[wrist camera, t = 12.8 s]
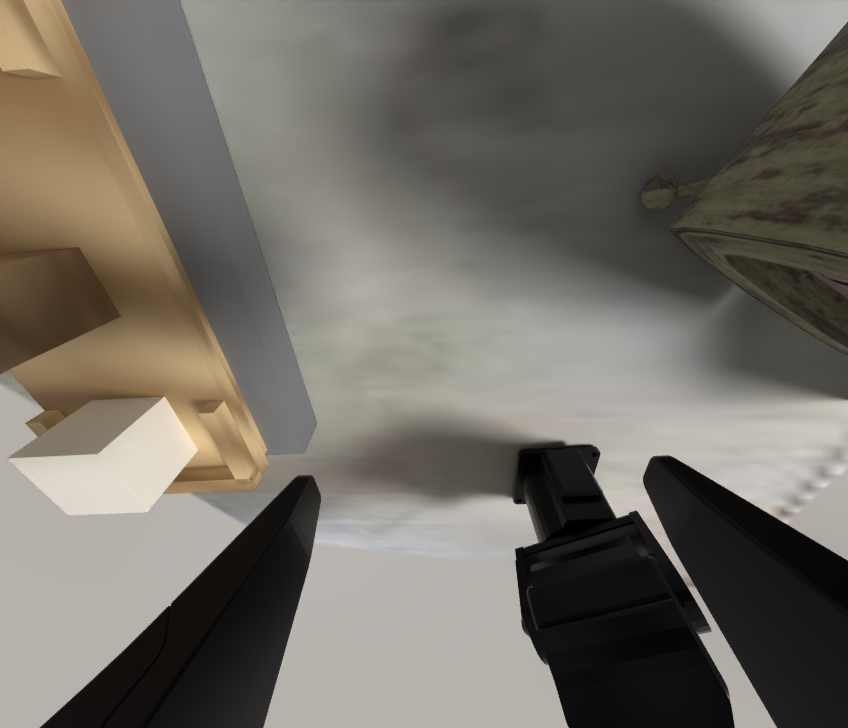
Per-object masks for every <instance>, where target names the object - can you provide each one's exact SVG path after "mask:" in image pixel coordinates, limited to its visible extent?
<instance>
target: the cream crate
mask: <svg viewBox="0 0 848 728" xmlns="http://www.w3.org/2000/svg"><path fill="white" fill-rule="evenodd" d="M197 451H198V450H197V448H196V446H195V445H194V443H193V441H192V440H191V438H190V437H189V435H188V433H187V432H186V430H185V428H184V427H183V425H182V423H181V422H180V420H179V419H178V417H177V415H176V414H175V412H174V410H173V409H172V407H171V406H170V404H169V402H168V401H167V399H166V397H165V396H161V397H143V398H125V399H107V400H92V401H90V402H89V403H87V404H86V405H84V406H83V407H81V408H80V409H79V410H77V411H76V412H74V413H73V414H71V415H70V416H68V417H67V418H65V419H64V420H62V421H61V422H60V423H58V424H57V425H55V426H54V427H52V428H51V429H49V430H48V431H46V432H45V433H43V434H42V435H41V436H39V437H38V438H36V439H35V440H33V441H32V442H30V443H29V444H27V445H26V446H24V447H23V448H22V449H20V450H19V451H17V452H16V453H14V454H13V455H11V456H10V457H8V458H7V459H8V460H9V461H10V462H12V464H13V465H14V466H15V467H17V468H18V469H19V470H20V471H21V472H22V473H23V474H24V475H25V476H27V478H28V479H29V480H31V481H32V482H33V483H34V484H35V485H36V486H37V487H38V488H39V489H40V490H41V491H42V492H44V494H46V495H47V496H48V497H49V498H50V499H51V500H52V501H53V502H54V503H55V504H56V505H57V506H59V508H61V509H62V510H63V511H64V512H65V513H66V514H67V515H68V516H70V515H71V516H72V515H96V514H119V513H144V512H148V511H149V510H150V508H151V507H152V506H153V505H154V503H155V502H156V501H157V500H158V499H159V497H160V496H161V495H162V494H163V493H164V491H165V490H166V489H167V488H168V486H169V485H170V484H171V483H172V481H173V480H174V479H175V478H176V477H177V475H178V474H179V473H180V472H181V470H182V469H183V468H184V467H185V466H186V464H187V463H188V462H189V461H190V459H191V458H192V457H193V456H194V455H195V453H196V452H197Z"/></svg>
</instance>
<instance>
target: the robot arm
mask: <svg viewBox="0 0 848 728" xmlns="http://www.w3.org/2000/svg"><path fill="white" fill-rule="evenodd" d="M523 456H524V457H523ZM599 457H600V452H599V450H598V448H597V447H575V448H555V449H534V450H522V451H520V452H519V453H518V455H517V463H516V472H515V480H514V489H513V501H514V503H515V504H527V506H528V510H529V513H530V516H531V519H532V523H533V526H534V529H535V532H536V536H537V539H538V542H539V543H537V544H534V545H531V546H528V547H524V548H523V547H520V548H516V549H515V552H516V561H515V562H516V571H517V579H518V589H519V597H520V606H521V614H522V620H521V622H522V628H523V630H524V632H525V633H526V634H527V635H528V636H529V637H530V638H531V640H532V643H533V645H534V647H535V649H536V651H537V654H538V655H539V657H540V659H541V660H542V661H543V662H544V663H545V664H546V665H549V667H550V670H551V673H552V676H553V679H554V681H555V685H556V688H557V691H558V695H559V698H560V702H561V705H562V709H563V712H564V716H565V719H566V722H567V725H568V727H569V728H735V726H734V720H733V714H732V707H731V703H730V696H729V691H728V688H727V685H726V683H725V681H724V680H723V678H722V676H721V674H720V672H719V671H718V669H717V667H716V666H715V664H714V662H713V660H712V658H711V657H710V655H709V653H708V651H707V650H706V648H705V646H704V645H703V643H702V641H701V639H700V637H699V636H698V634H702V633H707V632H711V628H710V626H709V624H708V623H707V620H706V619H705V617H704V615H703V613H702V611H701V609H700V608H699V606H698V604H697V603H696V601H695V599H694V598H693V596H692V594H691V592H690V591H689V589H688V587H687V586H686V584H685V583H684V581H683V579H682V578H681V576H680V575H679V573H678V571H677V570H676V568H675V567H674V565H673V564H672V562H671V561H670V559H669V558H668V556H667V555H666V553H665V552H664V550H663V549H662V547H661V546H660V544H659V543H658V541H657V540H656V539H655V537H654V536H653V534H652V533H651V531H650V530H649V528H648V527H647V525H646V524H645V522H644V521H643V519H642V518H641V516H640V515H639V513H638V512H637V511H633V512H630V513H629V515H626V516H623V517H619V518H616V516H615V514H614V512H613V510H612V509H611V507H610V505H609V503H608V502H607V500H606V498H605V496H604V494H603V491H602V489H601V488H600V486H599V484H598V482H597V481H596V479H595V477H594V473H595V470H596V467H597V463H598V460H599ZM643 483H644V486H645V489H646V491H647V493H648V495H649V497H650V500H651V502H652V504H653V506H654V508H655V511H656V513H657V515H658V517H659V519H660V521H661V524H662V526H663V528H664V530H665V532H666V534H667V537H668V539H669V541H670V543H671V545H672V547H673V548H674V550H675V552H676V554H677V556H678V557H679V559H680V561H681V563H682V564H683V566H684V568H685V569H686V571H687V573H688V575H689V576H690V578H691V580H692V582H693V583H694V585H695V587H696V588H697V590H698V592H699V594H700V595H701V597H702V599H703V600H704V602H705V604H706V606H707V607H708V609H709V611H710V613H711V614H712V616H713V618H714V619H715V621H716V623H717V624H718V626H719V628H720V630H721V631H722V633H723V635H724V637H725V638H726V640H727V642H728V644H729V645H730V647H731V648H732V650H733V652H734V654H735V656H736V658H737V659H738V661H739V662H740V664H741V666H742V668H743V670H744V671H745V673H746V675H747V677H748V678H749V680H750V682H751V683H752V685H753V687H754V688H755V690H756V692H757V694H758V696H759V697H760V699H761V701H762V702H763V704H764V706H765V708H766V709H767V711H768V713H769V714H770V716H771V718H772V720H773V721H774V723H775V725H776V726H777V728H848V561H847V560H846V559H844V558H842V557H841V556H839V555H837V554H836V553H834V552H832V551H831V550H829V549H827V548H826V547H824V546H822V545H821V544H819V543H817V542H815V541H814V540H812V539H810V538H809V537H807V536H805V535H804V534H802V533H800V532H798V531H797V530H795V529H794V528H792V527H790V526H789V525H787V524H785V523H783V522H782V521H780V520H778V519H777V518H775V517H773V516H772V515H770V514H768V513H767V512H765V511H763V510H762V509H760V508H758V507H756V506H755V505H753V504H751V503H750V502H748V501H746V500H745V499H743V498H741V497H740V496H738V495H736V494H735V493H733V492H731V491H730V490H728V489H726V488H724V487H723V486H721V485H719V484H718V483H716V482H714V481H713V480H711V479H709V478H708V477H706V476H704V475H703V474H701V473H699V472H697V471H696V470H694V469H692V468H691V467H689V466H687V465H686V464H684V463H682V462H681V461H679V460H677V459H676V458H674V457H672V456H653V457H652V458H651V459H650V461H649V463H648V466H647V468H646V471H645V474H644V476H643ZM320 503H321V495H320V492H319V489H318V487H317V484H316V481H315V479H314V477H313V476H312V475H301V476H297V477H296V478H294V479H293V480H292V481H291V482H290V483H289V484H288V485H287V486H286V487H285V488H284V489H283V490H282V491H281V492H280V493H279V495H278V496H277V497H276V498H275V499H274V500H273V501H272V502H271V503H270V504H269V505H268V506H267V507H266V508H265V509H264V510H263V511H262V512H261V513H260V514H259V515H258V516H257V517H256V518H255V519H254V520H253V521H252V522H251V523H250V524H249V525H248V526H247V527H246V528H245V529H244V530H243V531H242V532H241V533H240V534H239V535H238V536H237V537H236V538H235V539H234V540H233V541H232V542H231V544H229V545H228V546H227V547H226V548H225V549H224V550H223V551H222V552H221V553H220V554H219V555H218V556H217V557H216V558H215V559H214V560H213V561H212V562H211V563H210V565H208V566H207V568H205V569H204V571H203V572H202V573H201V574H200V575H199V576H198V577H197V578H196V579H195V580H194V581H193V582H192V583H191V584H190V585H189V586H188V587H187V588H186V589H185V590H184V591H183V592H182V593H181V594H180V595H179V596H178V597H177V598H176V599H175V600H174V601H173V602H172V603H171V606H168V607H167V608H166V609H165V610H164V611H163V612H162V613H161V614H160V615H159V616H158V617H157V618H156V619H155V620H154V621H153V622H152V623H151V624H150V625H149V626H148V627H147V628H146V629H145V630H144V631H143V632H142V633H141V634H140V635H139V636H138V637H137V638H136V639H135V640H134V641H133V642H132V643H131V644H130V645H129V646H128V647H127V648H126V649H125V650H124V651H123V652H122V653H121V654H119V655H118V656H117V657H116V658H115V659H114V660H113V661H112V662H111V663H110V664H109V665H108V666H107V667H105V669H103V670H102V671H101V672H100V673H99V674H98V675H97V676H96V677H95V678H94V679H93V680H92V681H90V682H89V683H88V684H87V685H86V686H85V687H84V688H83V689H82V690H81V691H80V692H79V693H77V694H76V695H75V696H74V697H73V698H72V699H71V700H70V701H69V702H67V703H66V704H65V705H64V706H63V707H62V708H61V709H60V710H59V711H58V712H57V713H55V714H54V715H53V716H52V717H51V718H50V719H49V720H48V721H47V722H46V723H44V724H43V725H42V726H41V727H40V728H263V726H264V723H265V720H266V716H267V713H268V709H269V705H270V702H271V698H272V695H273V691H274V688H275V684H276V681H277V677H278V674H279V670H280V667H281V663H282V659H283V656H284V652H285V649H286V645H287V642H288V638H289V635H290V631H291V628H292V624H293V621H294V617H295V613H296V610H297V606H298V603H299V599H300V596H301V592H302V589H303V585H304V582H305V578H306V574H307V571H308V567H309V563H310V559H311V554H312V549H313V543H314V538H315V532H316V526H317V521H318V515H319V509H320Z"/></svg>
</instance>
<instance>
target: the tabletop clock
mask: <svg viewBox="0 0 848 728" xmlns="http://www.w3.org/2000/svg"><path fill="white" fill-rule="evenodd" d="M679 196H697V198H696V199H695V200H694V201H693V202H692V203H691V204H690V206H689V207H688V208H687V209H686V210H685V211H684V213H683V214H682V215H681V216H680V217H679V218H678V220H677V221H676V222H675V223H674V224H673V225H672V227H671V228H670V229H669V230H670V231H671V233H672V234H673V235H674V236H675V237H676V238H677V239H678V240H679V241H680V242H681V243H682V244H684V245H685V246H686V247H687V248H688V249H689V250H691V251H692V252H693V253H694V254H696V255H697V256H698V257H700V258H701V259H702V260H704V261H705V262H706V263H708V264H709V265H710V266H712V267H713V268H714V269H716V270H717V271H718V272H720V273H721V274H723V275H724V276H725V277H727V278H728V279H729V280H731V281H732V282H733V283H735V284H736V285H737V286H739V287H740V288H741V289H743V290H744V291H746V292H747V293H749V294H750V295H752V296H753V297H755V298H756V299H758V300H759V301H761V302H762V303H764V304H765V305H766V306H768V307H769V308H771V309H772V310H774V311H775V312H777V313H778V314H780V315H781V316H783V317H784V318H786V319H787V320H789V321H790V322H792V323H793V324H795V325H796V326H798V327H799V328H801V329H803V330H804V331H806V332H807V333H809V334H811V335H812V336H814V337H816V338H817V339H819V340H821V341H823V342H824V343H826V344H828V345H829V346H831V347H833V348H835V349H836V350H838V351H840V352H842V353H845V354H847V355H848V22H847V23H846V25H845V26H844V27H843V28H842V29H841V30H840V31H839V33H838V34H837V35H836V36H835V37H834V38H833V40H832V41H831V42H830V43H829V44H828V45H827V47H826V48H825V49H824V50H823V51H822V52H821V54H820V55H819V56H818V57H817V58H816V59H815V61H814V62H813V63H812V64H811V65H810V66H809V67H808V69H807V70H806V71H805V72H804V73H803V74H802V76H801V77H800V78H799V79H798V80H797V81H796V83H795V84H794V85H793V86H792V87H791V88H790V90H789V91H788V92H787V93H786V94H785V95H784V97H783V98H782V99H781V100H780V101H779V102H778V103H777V105H776V106H775V107H774V108H773V109H772V110H771V112H770V113H769V114H768V115H767V116H766V117H765V119H764V120H763V121H762V122H761V123H760V124H759V126H758V127H757V128H756V129H755V130H754V131H753V132H752V134H751V135H750V136H749V137H748V138H747V139H746V141H745V142H744V143H743V144H742V145H741V146H740V148H739V149H738V150H737V151H736V152H735V153H734V155H733V156H732V157H731V158H730V159H729V160H728V162H727V163H726V164H725V165H724V166H723V167H722V168H721V170H720V171H719V172H718V173H717V174H716V175H715V177H710V178H705V179H701V180H696V181H691V182H687V183H682V181H681V179H680V178H679V176H678V175H676V174H672V173H667V172H665V173H661V174H659V175H657V176H656V177H654V178H652V179H651V180H649V181H648V182H647V183H646V185H645V187H644V189H643V191H642V202H643V203H644V205H645V206H646V207H647V208H651V209H655V210H661V209H663V208H665V207H667V206H669V205H671V204H672V203H674V202H675V201H676V200H677V199H678V197H679Z"/></svg>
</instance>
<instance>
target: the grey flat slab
mask: <svg viewBox="0 0 848 728" xmlns="http://www.w3.org/2000/svg"><path fill="white" fill-rule="evenodd" d="M61 2H62V4H63V6H64V8H65V10H66V13H67V15H68V17H69V19H70V21H71V23H72V26H73V28H74V30H75V32H76V34H77V37H78V39H79V41H80V43H81V45H82V47H83V50H84V52H85V54H86V56H87V58H88V60H89V63H90V65H91V67H92V69H93V71H94V74H95V76H96V78H97V80H98V82H99V84H100V87H101V89H102V91H103V93H104V95H105V98H106V100H107V102H108V104H109V106H110V108H111V111H112V113H113V115H114V117H115V119H116V121H117V124H118V126H119V128H120V130H121V132H122V135H123V137H124V139H125V141H126V143H127V145H128V148H129V150H130V152H131V154H132V156H133V158H134V161H135V163H136V165H137V167H138V169H139V172H140V174H141V176H142V178H143V180H144V182H145V185H146V187H147V189H148V191H149V193H150V195H151V198H152V200H153V202H154V204H155V206H156V209H157V211H158V213H159V215H160V217H161V219H162V222H163V224H164V226H165V228H166V230H167V232H168V235H169V237H170V239H171V241H172V243H173V246H174V248H175V250H176V252H177V254H178V256H179V259H180V261H181V263H182V265H183V267H184V269H185V272H186V274H187V276H188V278H189V280H190V283H191V285H192V287H193V289H194V291H195V293H196V296H197V298H198V300H199V302H200V304H201V307H202V309H203V311H204V313H205V315H206V317H207V320H208V322H209V324H210V326H211V328H212V330H213V333H214V335H215V337H216V339H217V341H218V344H219V346H220V348H221V350H222V352H223V354H224V357H225V359H226V361H227V363H228V365H229V367H230V370H231V372H232V374H233V376H234V378H235V381H236V383H237V385H238V387H239V389H240V391H241V394H242V396H243V398H244V400H245V402H246V404H247V407H248V409H249V411H250V413H251V415H252V418H253V420H254V422H255V424H256V426H257V428H258V431H259V433H260V435H261V437H262V439H263V441H264V444H265V446H266V448H267V452H266V454H265V455H280V454H301V453H305V451H306V449H307V446H308V444H309V442H310V439H311V437H312V435H313V432H314V430H315V428H316V425H317V422H316V419H315V416H314V413H313V410H312V407H311V404H310V401H309V398H308V395H307V391H306V388H305V385H304V382H303V379H302V376H301V373H300V370H299V367H298V364H297V361H296V357H295V354H294V351H293V348H292V345H291V342H290V339H289V336H288V333H287V330H286V327H285V324H284V320H283V317H282V314H281V311H280V308H279V305H278V302H277V299H276V296H275V293H274V290H273V287H272V283H271V280H270V277H269V274H268V271H267V268H266V265H265V262H264V259H263V256H262V253H261V250H260V246H259V243H258V240H257V237H256V234H255V231H254V228H253V225H252V222H251V219H250V216H249V213H248V209H247V206H246V203H245V200H244V197H243V194H242V191H241V188H240V185H239V182H238V179H237V176H236V172H235V169H234V166H233V163H232V160H231V157H230V154H229V151H228V148H227V145H226V142H225V138H224V135H223V132H222V129H221V126H220V123H219V120H218V117H217V114H216V111H215V108H214V105H213V101H212V98H211V95H210V92H209V89H208V86H207V83H206V80H205V77H204V74H203V71H202V68H201V64H200V61H199V58H198V55H197V52H196V49H195V46H194V43H193V40H192V37H191V34H190V31H189V27H188V24H187V21H186V18H185V15H184V12H183V9H182V6H181V3H180V0H61Z"/></svg>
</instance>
